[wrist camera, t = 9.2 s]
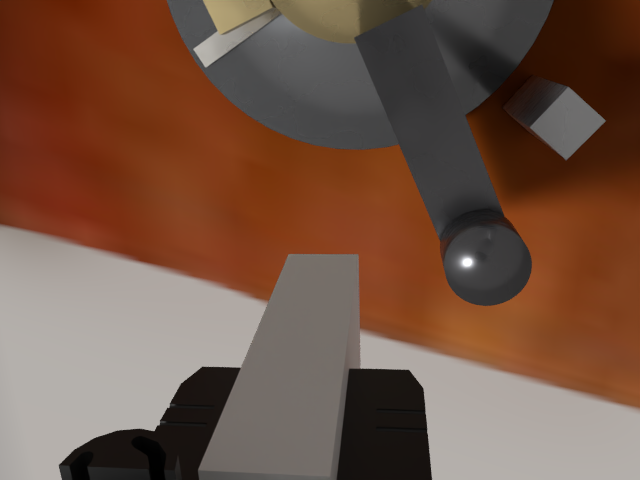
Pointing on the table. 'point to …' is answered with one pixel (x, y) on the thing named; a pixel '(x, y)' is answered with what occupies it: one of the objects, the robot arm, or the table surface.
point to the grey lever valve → (418, 131)
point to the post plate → (356, 84)
